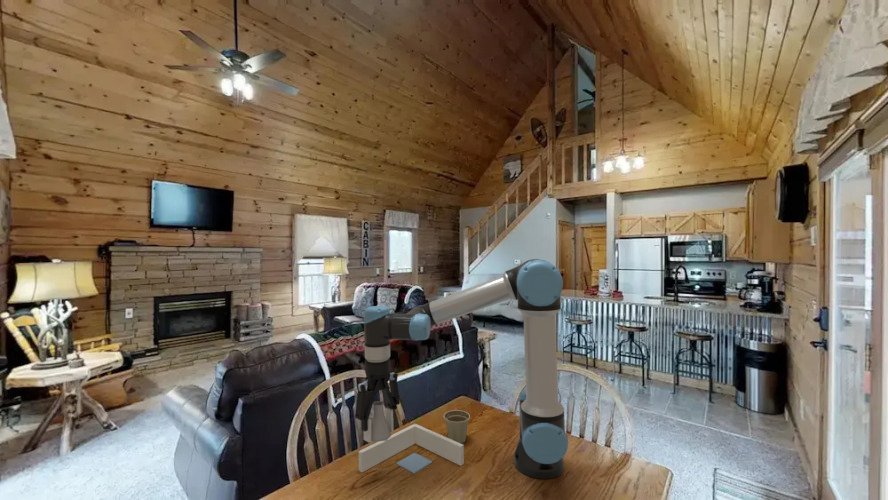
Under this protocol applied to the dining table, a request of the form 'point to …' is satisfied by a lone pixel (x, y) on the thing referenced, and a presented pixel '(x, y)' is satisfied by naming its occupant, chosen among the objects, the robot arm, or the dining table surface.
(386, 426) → the flask
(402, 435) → the corner wall
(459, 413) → the flower pot
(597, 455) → the dining table surface
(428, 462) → the pad
